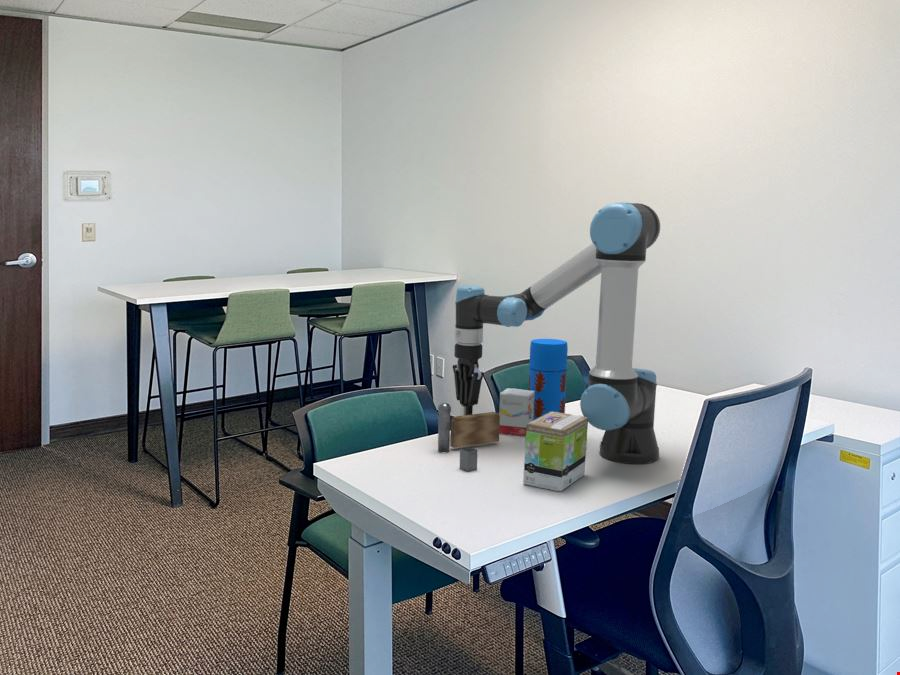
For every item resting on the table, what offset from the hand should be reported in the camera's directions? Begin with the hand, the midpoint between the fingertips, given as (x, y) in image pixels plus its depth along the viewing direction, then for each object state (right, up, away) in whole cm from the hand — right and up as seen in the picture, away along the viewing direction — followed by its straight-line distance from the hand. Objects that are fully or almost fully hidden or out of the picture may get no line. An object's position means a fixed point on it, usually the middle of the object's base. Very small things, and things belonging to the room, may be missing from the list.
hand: (466, 427), depth 224 cm
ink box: (+14, -2, +10) cm, 17 cm away
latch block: (0, -7, -25) cm, 26 cm away
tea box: (+20, -9, -32) cm, 39 cm away
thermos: (+24, -1, +17) cm, 29 cm away
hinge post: (-6, -5, -11) cm, 13 cm away
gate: (+2, -4, -6) cm, 8 cm away
